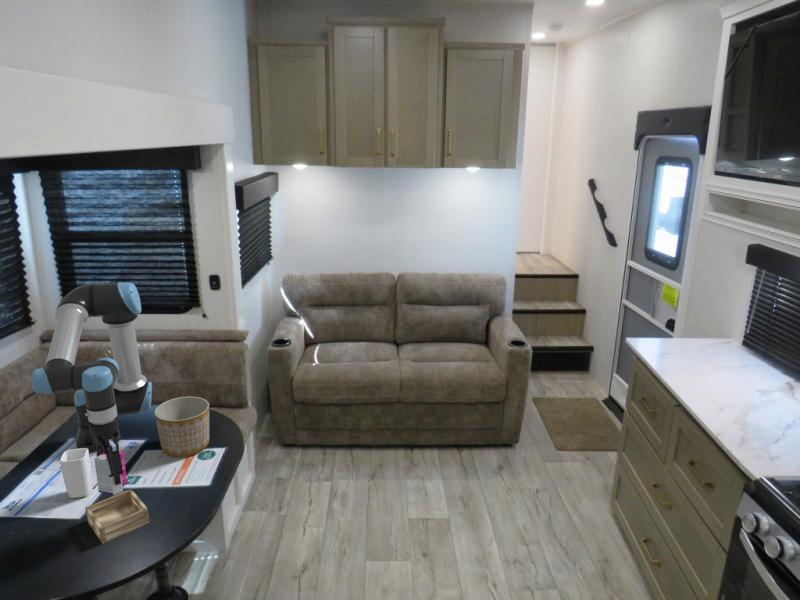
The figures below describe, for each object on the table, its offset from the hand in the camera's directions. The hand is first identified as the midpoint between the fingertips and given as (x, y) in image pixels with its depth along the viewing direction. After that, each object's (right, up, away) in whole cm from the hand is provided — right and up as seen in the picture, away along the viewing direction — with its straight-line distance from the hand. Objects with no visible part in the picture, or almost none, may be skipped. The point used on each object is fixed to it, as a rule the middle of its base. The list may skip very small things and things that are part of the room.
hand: (113, 486), depth 166 cm
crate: (0, -12, +4) cm, 13 cm away
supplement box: (0, -1, 0) cm, 1 cm away
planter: (+5, 0, +45) cm, 45 cm away
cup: (-19, -8, +17) cm, 27 cm away
